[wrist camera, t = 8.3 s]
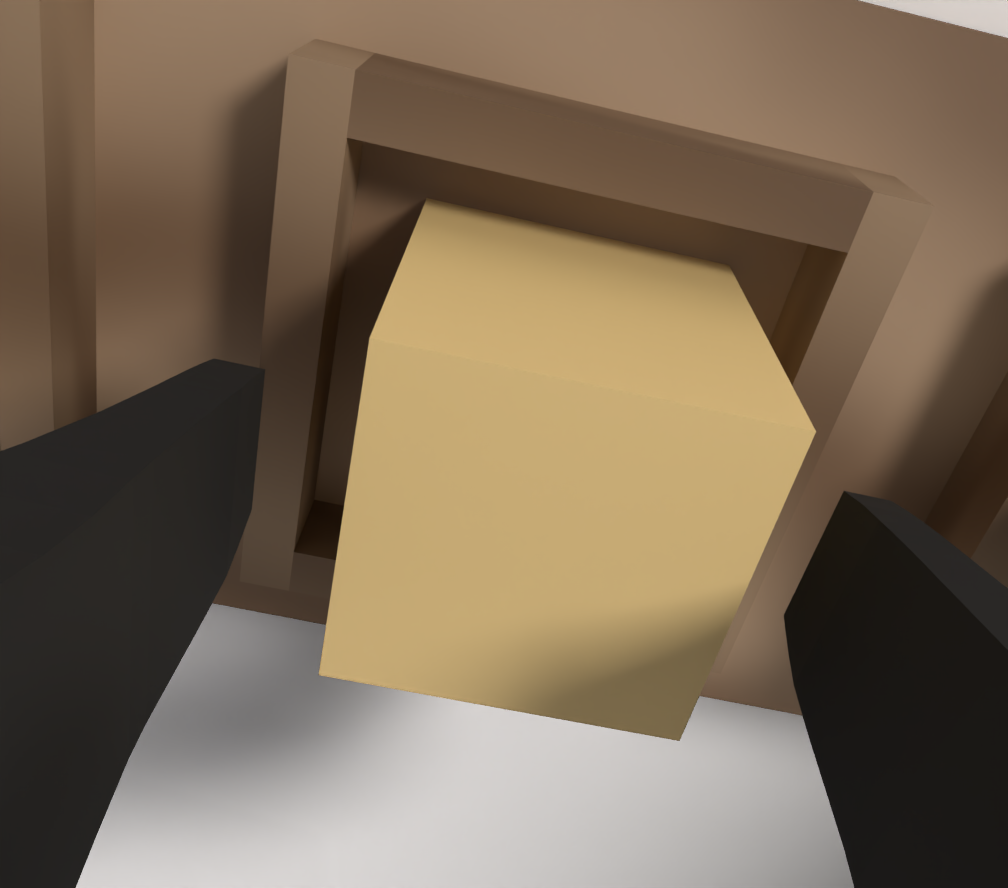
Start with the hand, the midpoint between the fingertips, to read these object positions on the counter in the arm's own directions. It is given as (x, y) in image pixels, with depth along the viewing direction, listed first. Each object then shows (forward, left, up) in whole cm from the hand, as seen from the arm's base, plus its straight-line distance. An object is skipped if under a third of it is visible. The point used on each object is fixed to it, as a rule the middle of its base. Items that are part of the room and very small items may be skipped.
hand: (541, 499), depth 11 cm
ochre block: (0, 0, -4) cm, 4 cm away
